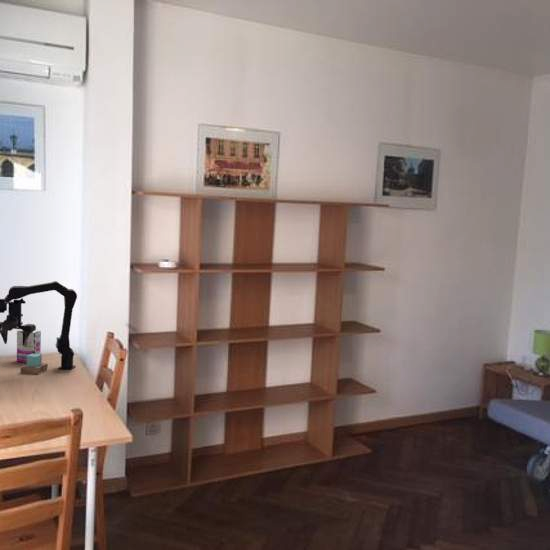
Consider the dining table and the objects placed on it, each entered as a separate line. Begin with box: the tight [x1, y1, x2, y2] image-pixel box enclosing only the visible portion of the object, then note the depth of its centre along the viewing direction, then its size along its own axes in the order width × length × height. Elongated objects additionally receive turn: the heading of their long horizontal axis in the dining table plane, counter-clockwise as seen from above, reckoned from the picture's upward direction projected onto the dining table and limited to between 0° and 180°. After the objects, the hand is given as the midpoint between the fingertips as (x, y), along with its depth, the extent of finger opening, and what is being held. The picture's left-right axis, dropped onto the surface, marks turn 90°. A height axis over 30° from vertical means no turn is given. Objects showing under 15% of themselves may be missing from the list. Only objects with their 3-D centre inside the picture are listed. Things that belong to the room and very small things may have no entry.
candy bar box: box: [16, 329, 42, 364], centre depth 308 cm, size 11×5×16 cm, turn 73°
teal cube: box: [26, 353, 43, 367], centre depth 292 cm, size 5×5×5 cm
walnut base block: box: [20, 362, 49, 375], centre depth 293 cm, size 9×9×3 cm
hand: (14, 344), depth 290 cm, fingers open, 9 cm apart
